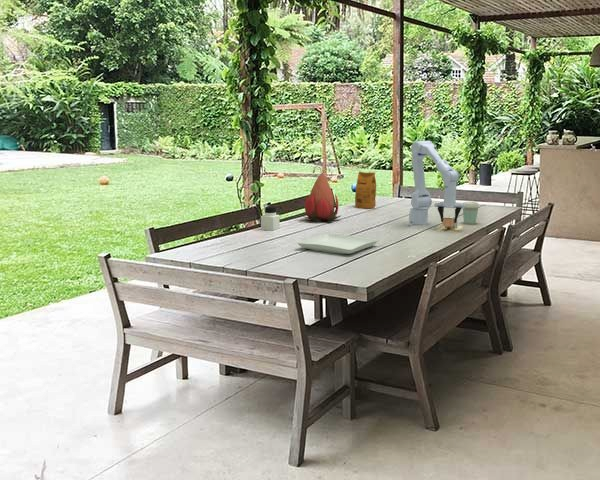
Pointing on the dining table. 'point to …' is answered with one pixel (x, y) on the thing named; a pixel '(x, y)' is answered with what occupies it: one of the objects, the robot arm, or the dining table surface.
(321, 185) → the decorative flower
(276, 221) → the medicine bottle
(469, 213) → the coffee cup
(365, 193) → the coffee package
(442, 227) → the gear board
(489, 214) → the dining table surface
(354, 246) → the square plate
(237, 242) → the dining table surface
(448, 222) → the loose gear
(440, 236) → the dining table surface
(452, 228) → the gear
